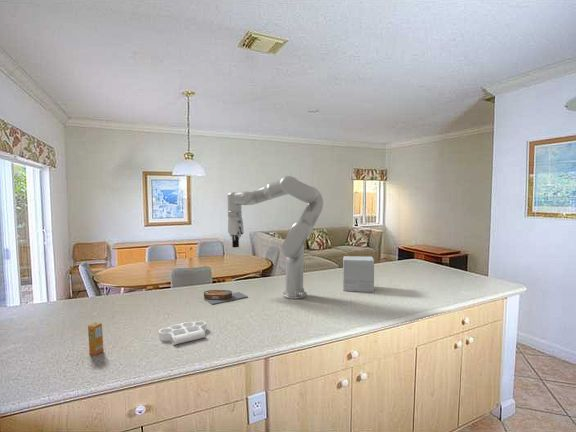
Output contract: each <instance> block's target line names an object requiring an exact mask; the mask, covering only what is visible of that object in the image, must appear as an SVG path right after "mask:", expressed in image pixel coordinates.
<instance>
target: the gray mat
mask: <svg viewBox="0 0 576 432" xmlns="http://www.w3.org/2000/svg"><path fill="white" fill-rule="evenodd" d="M247 298H249V297H248V295H247V294H244V293H242V292H240V291H239V292H232V297H231V298H229V299H205V298H204V301H206V302H207V303H208V304H210V305H213V306H214V305H219V304H223V303H227V302H233V301H237V300H242V299H247Z"/></svg>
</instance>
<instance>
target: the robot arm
mask: <svg viewBox="0 0 576 432" xmlns="http://www.w3.org/2000/svg"><path fill="white" fill-rule="evenodd" d="M287 195H289V196H291V197H294V198H295V199H298V200H299V201H301V202H303V203H307V204H306V207H305V208H304V210H303V212H302V214H301V216H300V217H299V219H298V220H297V221H295V222H294V223H293V224H292V225H291V227H290V229H289V231H288V233H287V235H286V237H285V238H284V241H283V242H282V244H281V252H282V254H283V256H284V257H285V291H284V292H283V293H282V296H283V298H287V299H292V300H298V299H303V298H305V297H307V292H306V291H305V288H304V255H305V242H306V241H307V239H308V237H309V236H311V234H312V232H313V229H314V227H315V225H316V223H317V221H318V219H319V217H320V215H321V213H322V211H323V207H324V198H323V195H322V193H321V192H320V190H319V189H318V188H316V187H314V186H311V185H308V184H306V183H304V182H303V181H300V180H299V179H298V178H296V177H294V176H291V175H286V176H284V177H282V178H281V179H280V180H276V181H272V182H269V183H267V184H265V186H264V187H262V188H259V189H256V190H252V191H240V192H236V191H231V192H228V193H227V217H228V219H227V232H228V234H229V236H230V238H231V241H232V248H235V249H236V248H240V244H239V243H240V238H242V235H244V233H245V231H244V230H245V229H244V220H243V217H242V215H243V213H242V206H253V205H254V206H255V205H257V204H261V203H263V202H268V201H270V200H273V199H276V198H279V197H282V196H287Z"/></svg>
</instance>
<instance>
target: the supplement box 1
mask: <svg viewBox="0 0 576 432" xmlns="http://www.w3.org/2000/svg"><path fill="white" fill-rule="evenodd" d="M102 324H103V323H102V322H100V323H99V322H93V323H91V324H88V325H87V332H88V335H87V336H88V346H89V347H88V349H89V350H88V351H89V353H88V354H90V355H94V356H97V355H99V354H101V353H103V352H104V336H103V335H104V334H103V325H102Z"/></svg>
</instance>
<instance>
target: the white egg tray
mask: <svg viewBox="0 0 576 432" xmlns="http://www.w3.org/2000/svg"><path fill="white" fill-rule="evenodd" d="M206 332H207V322H206V321H205V320H197V321H185V322H182V323H175V324H172V325H170V326H168V327H162V328H160V329H159V330H158V341H161V342H170V343H171V345H173V346H176V345H178V344H183V343H187V342H192V341H196V340H200V339H204V338H206Z"/></svg>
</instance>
